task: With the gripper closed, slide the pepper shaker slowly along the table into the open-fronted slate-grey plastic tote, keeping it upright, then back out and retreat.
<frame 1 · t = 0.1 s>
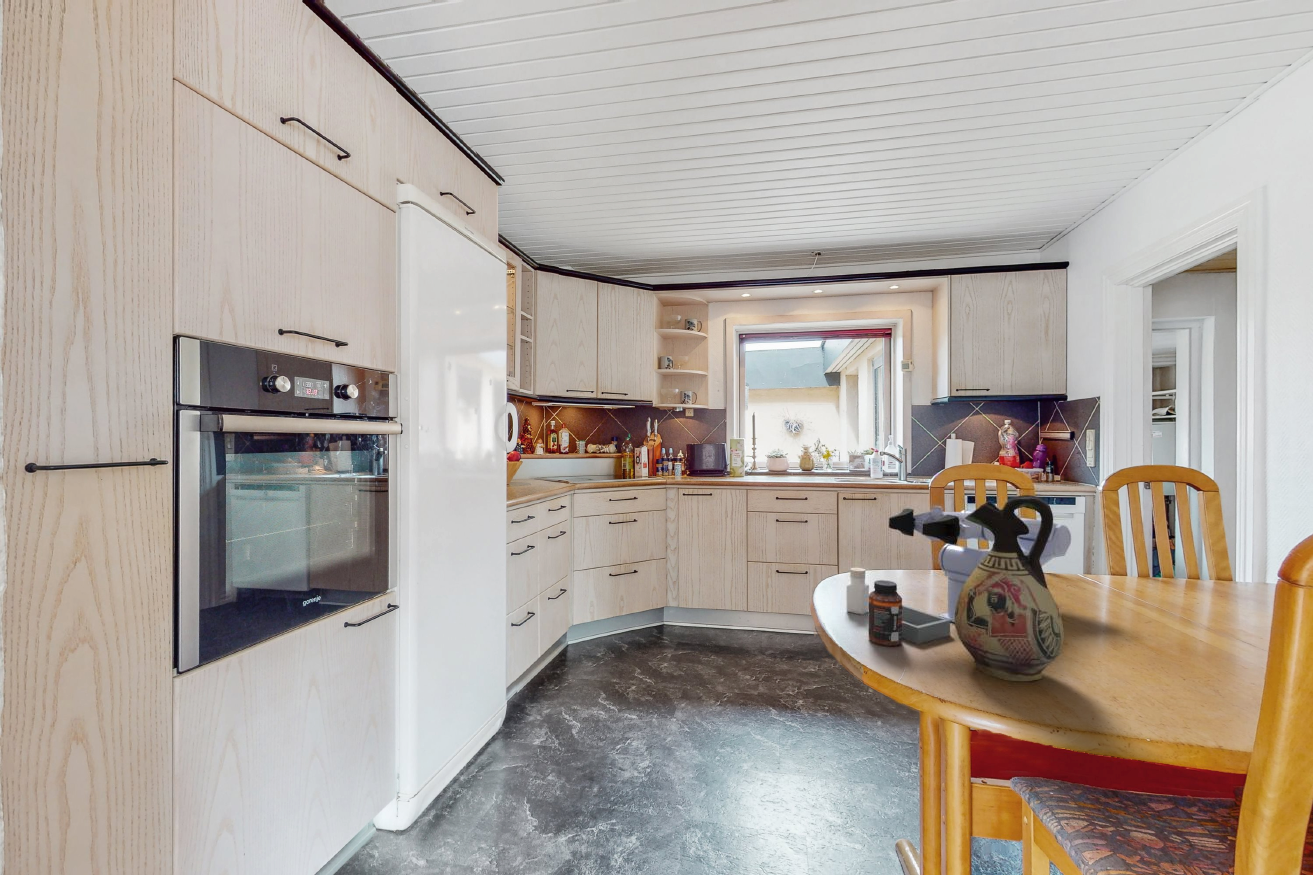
hand: (906, 525, 109), 22 cm above the table, tool horizontal, fingers open, 7 cm apart
supplement bottle: (885, 642, 106), on the table
ceramic jug: (1011, 673, 92), on the table
pepper shaker: (857, 612, 123), on the table
tote: (912, 631, 111), on the table
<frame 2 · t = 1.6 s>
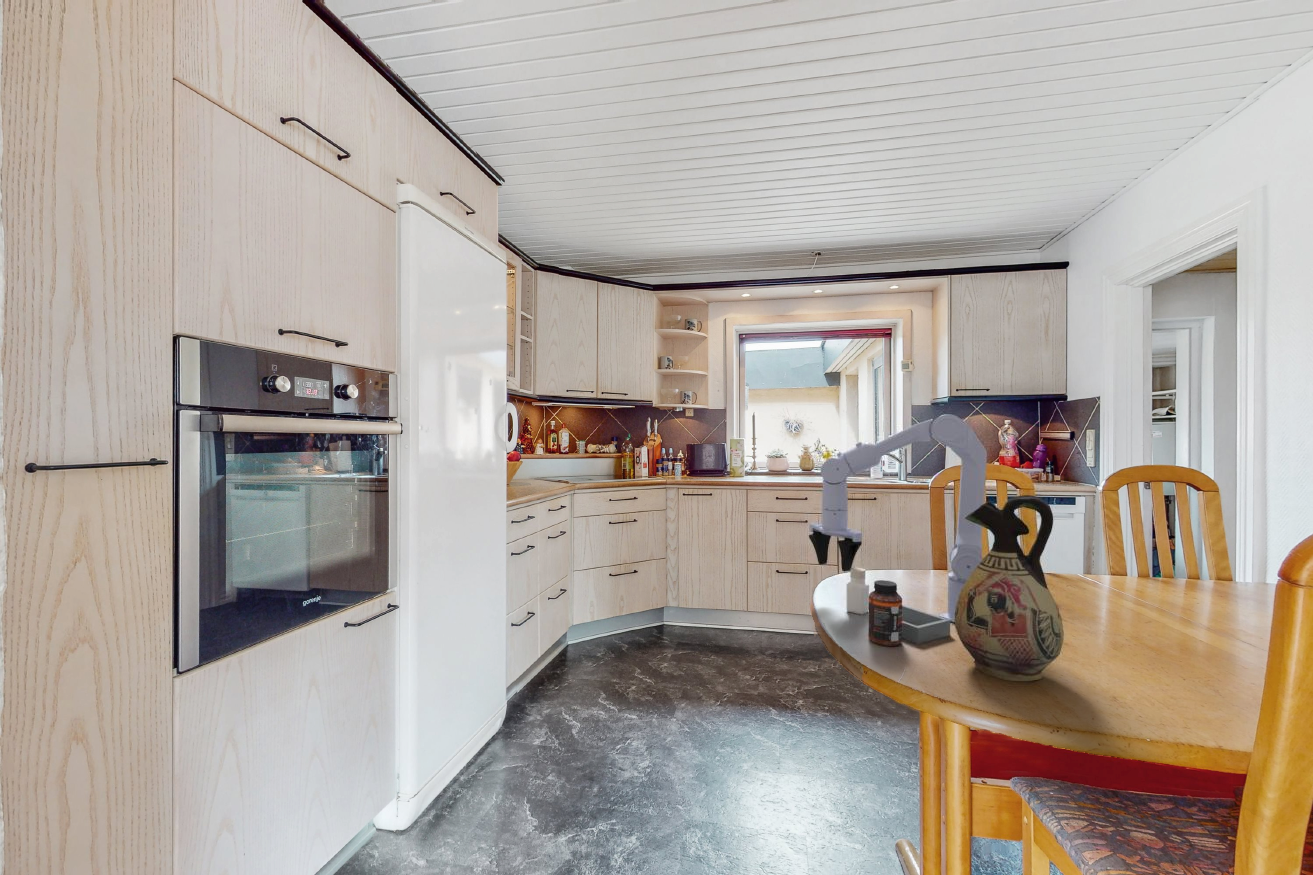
hand: (834, 567, 129), 8 cm above the table, tool pointing down, fingers open, 7 cm apart
nothing on the table moved.
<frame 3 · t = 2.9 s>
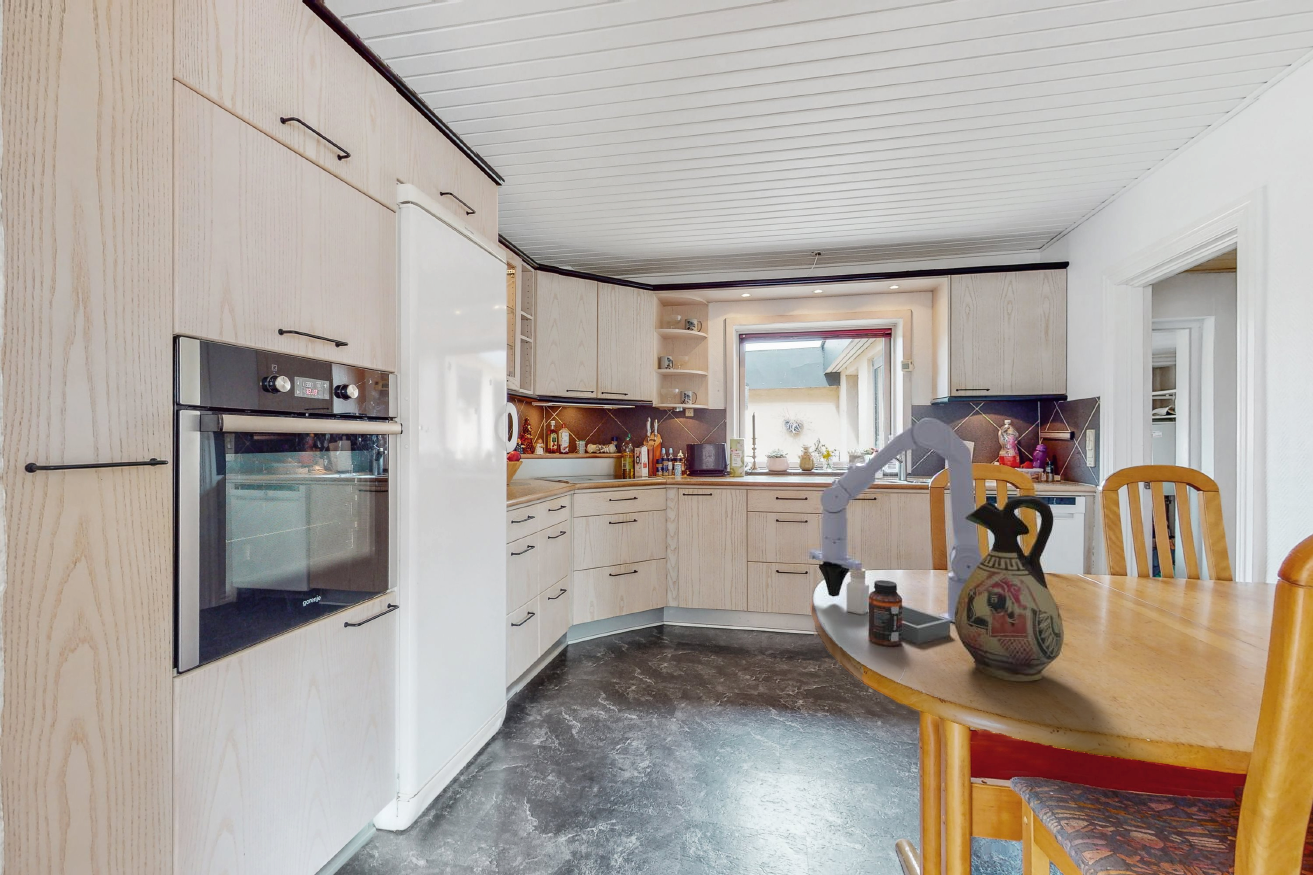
hand: (833, 595, 130), 2 cm above the table, tool pointing down, fingers closed
nothing on the table moved.
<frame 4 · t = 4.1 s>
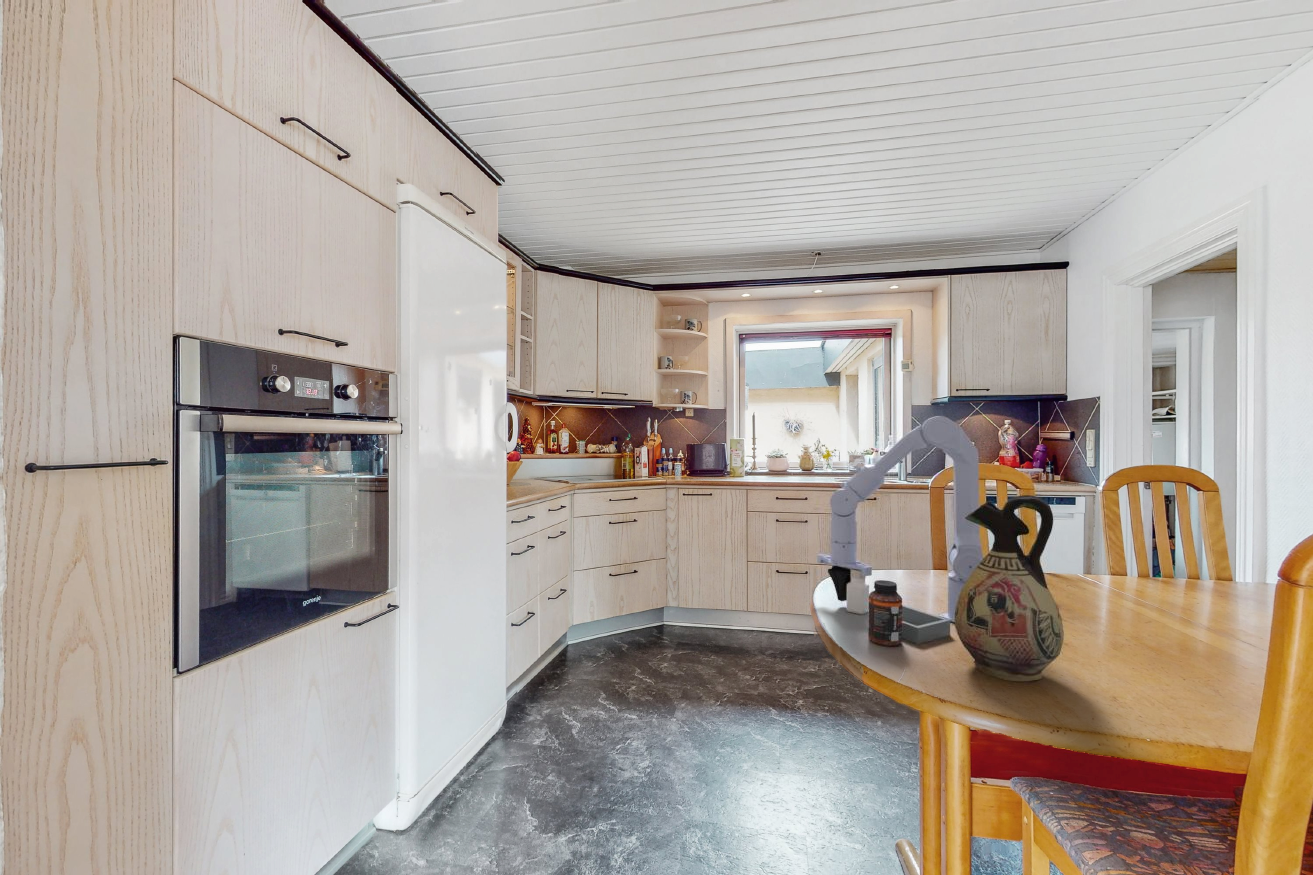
hand: (843, 600, 127), 1 cm above the table, tool pointing down, fingers closed
pepper shaker: (857, 612, 123), on the table, touching gripper
everything else where it was.
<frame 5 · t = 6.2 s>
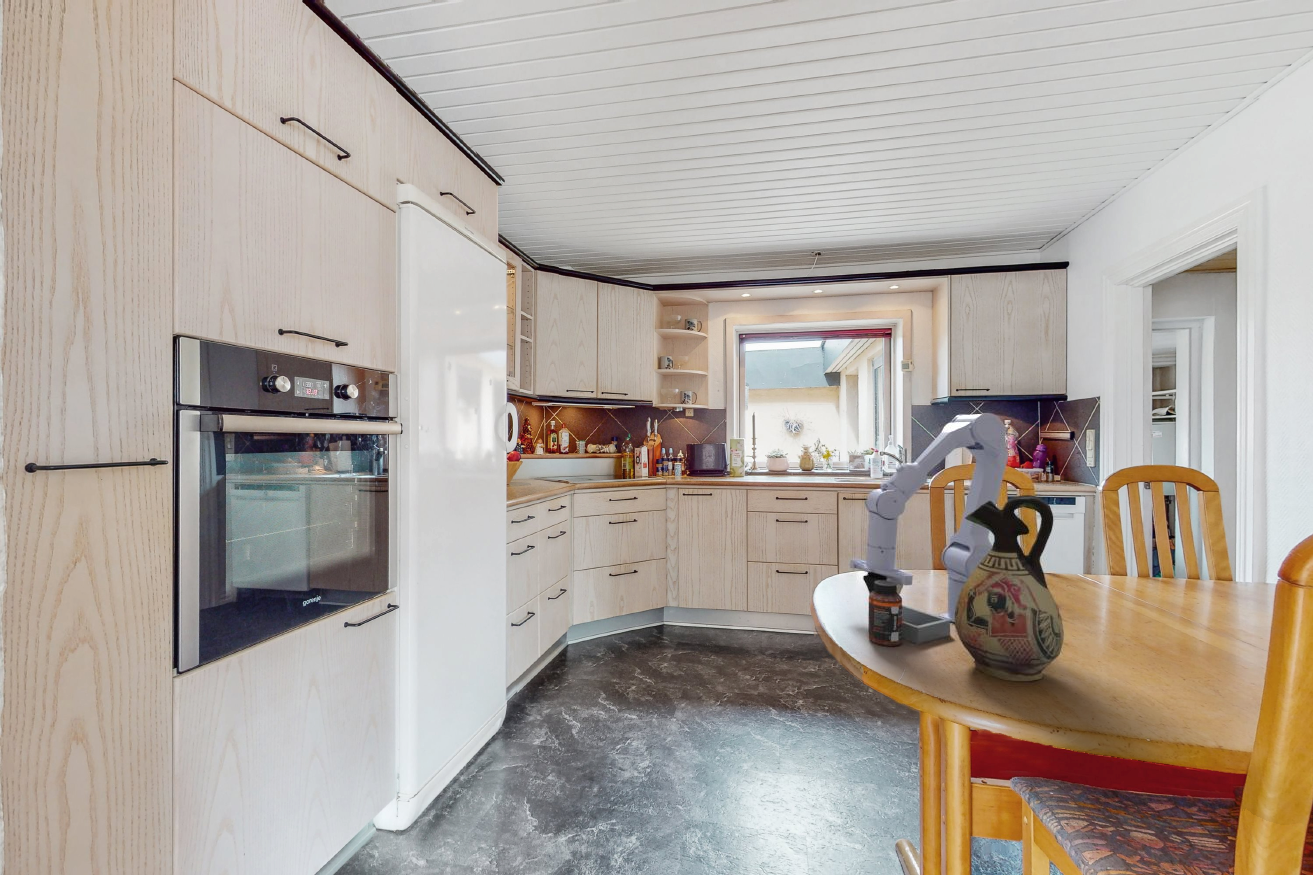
hand: (877, 609, 117), 2 cm above the table, tool pointing down, fingers closed, pressing on pepper shaker
pepper shaker: (879, 620, 116), on the table, touching gripper
everything else where it was.
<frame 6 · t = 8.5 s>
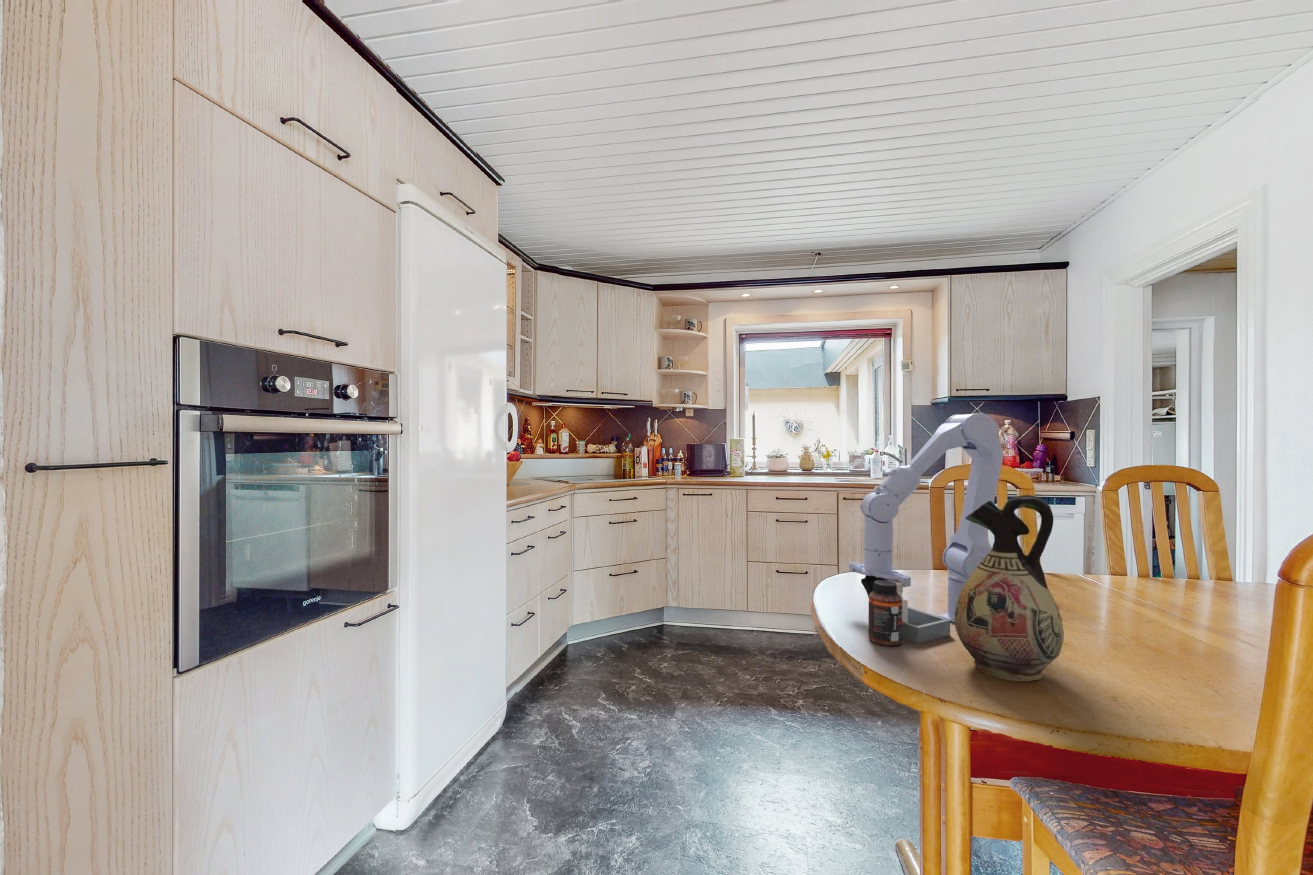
hand: (877, 612, 118), 1 cm above the table, tool pointing down, fingers closed
pepper shaker: (894, 629, 113), resting in tote
everything else where it was.
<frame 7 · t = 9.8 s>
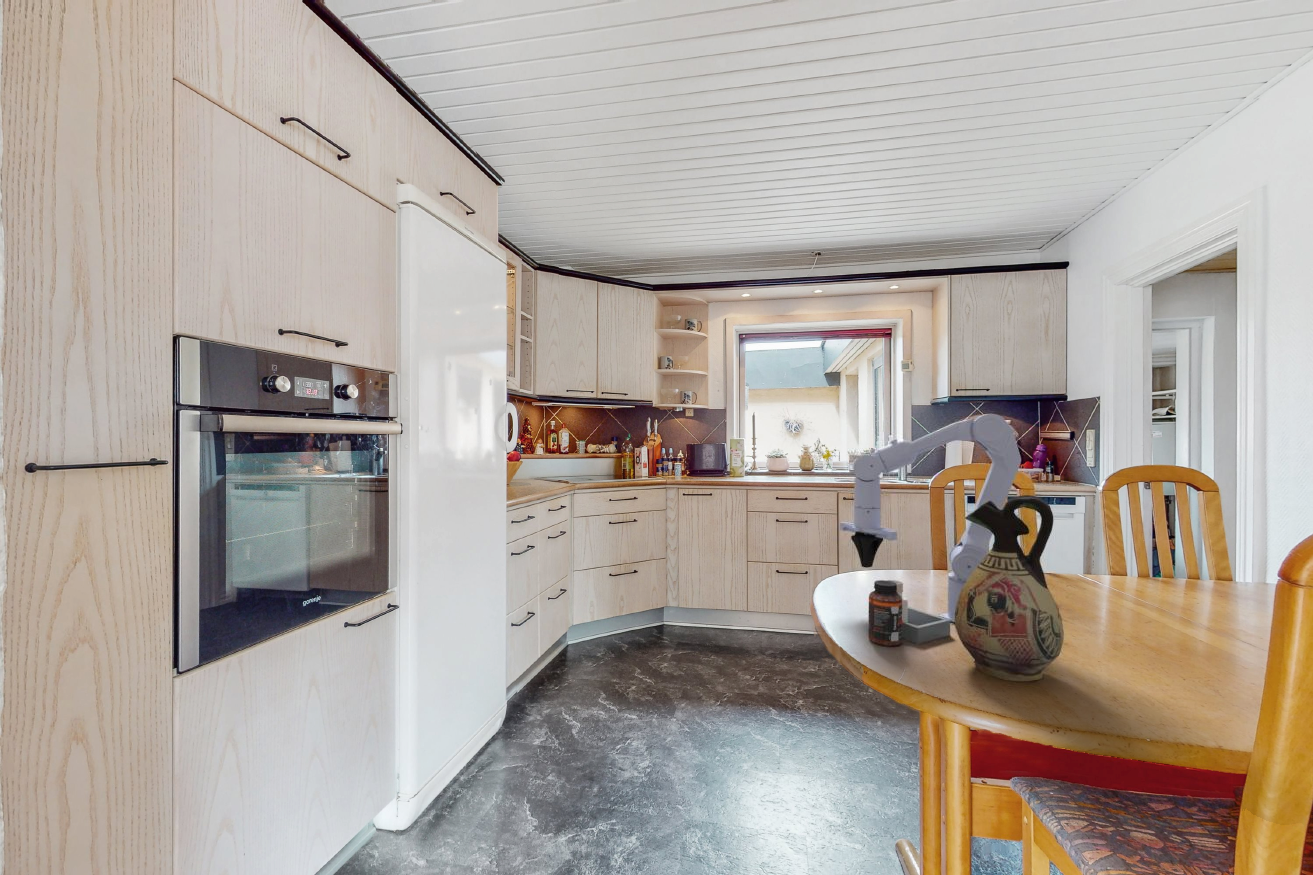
hand: (866, 566, 126), 9 cm above the table, tool pointing down, fingers closed
nothing on the table moved.
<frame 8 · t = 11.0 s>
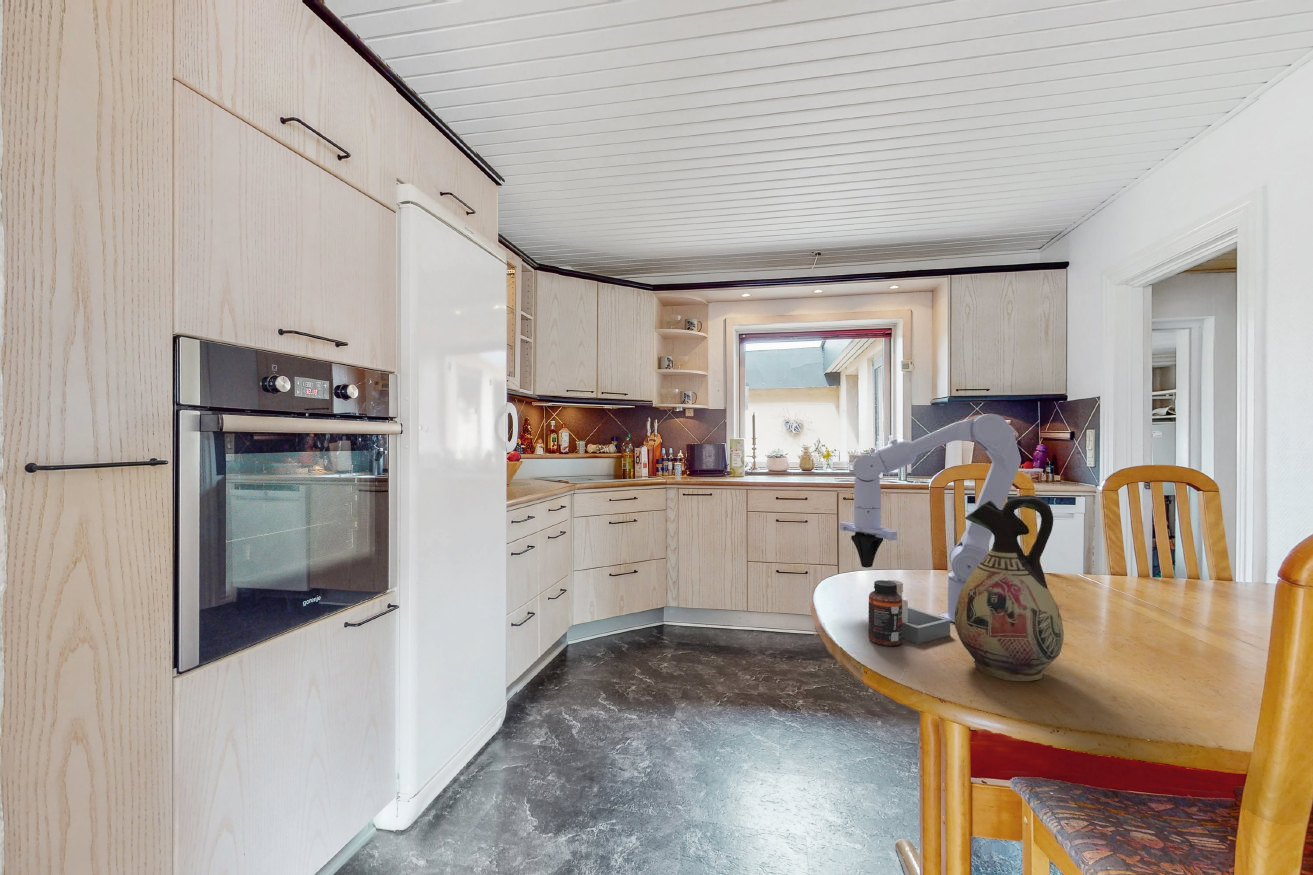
hand: (866, 566, 126), 9 cm above the table, tool pointing down, fingers closed
nothing on the table moved.
at the end: pepper shaker 3.4 cm off-centre on the tote, point 0.0 cm above the tote's base; pepper shaker tilted 0°; pepper shaker moved 11.1 cm from its start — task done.
